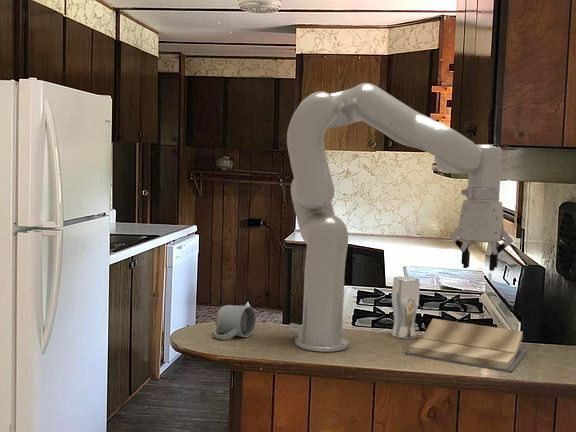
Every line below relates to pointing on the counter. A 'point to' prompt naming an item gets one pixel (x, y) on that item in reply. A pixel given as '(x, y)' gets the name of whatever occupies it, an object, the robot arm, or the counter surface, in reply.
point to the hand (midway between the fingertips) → (478, 268)
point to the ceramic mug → (234, 321)
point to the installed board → (463, 353)
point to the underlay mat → (510, 369)
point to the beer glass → (405, 306)
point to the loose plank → (474, 335)
